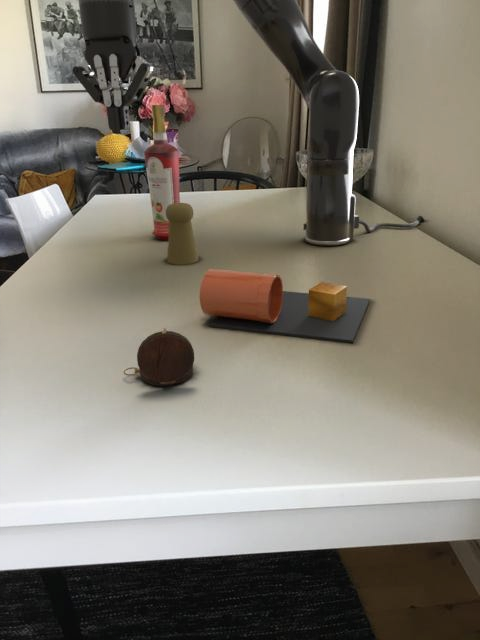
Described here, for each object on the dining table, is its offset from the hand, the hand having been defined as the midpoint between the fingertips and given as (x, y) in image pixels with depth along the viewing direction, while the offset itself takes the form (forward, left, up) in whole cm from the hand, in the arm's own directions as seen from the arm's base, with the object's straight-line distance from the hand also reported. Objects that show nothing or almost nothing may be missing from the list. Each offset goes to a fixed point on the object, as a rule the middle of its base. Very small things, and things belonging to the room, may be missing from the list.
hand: (120, 133), depth 85 cm
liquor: (-14, -33, -25) cm, 44 cm away
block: (-23, +24, -21) cm, 39 cm away
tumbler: (-8, +16, -21) cm, 28 cm away
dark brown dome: (+4, +32, -25) cm, 41 cm away
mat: (-19, +20, -25) cm, 37 cm away
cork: (-12, -14, -25) cm, 31 cm away
